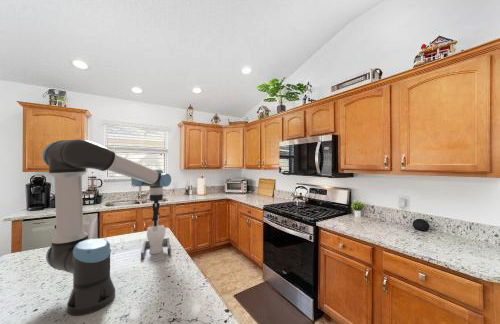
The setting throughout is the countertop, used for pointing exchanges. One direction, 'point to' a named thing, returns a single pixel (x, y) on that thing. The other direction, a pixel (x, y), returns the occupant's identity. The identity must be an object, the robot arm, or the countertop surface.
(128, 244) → the countertop surface
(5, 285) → the countertop surface
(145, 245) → the channel
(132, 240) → the countertop surface
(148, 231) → the cup
